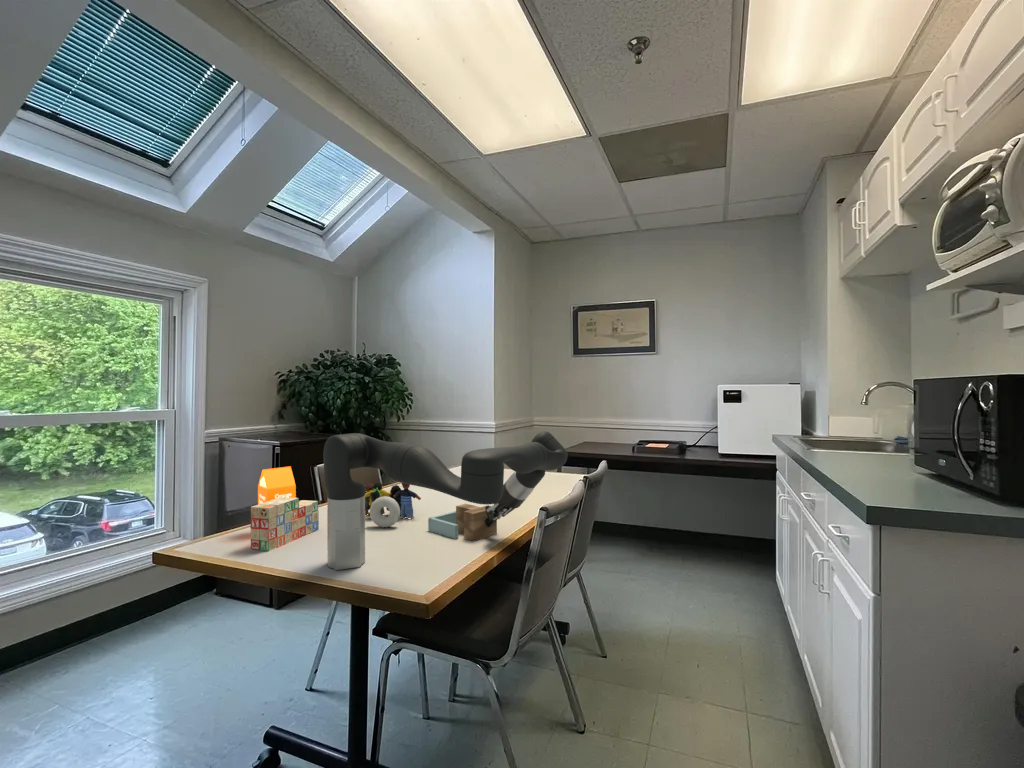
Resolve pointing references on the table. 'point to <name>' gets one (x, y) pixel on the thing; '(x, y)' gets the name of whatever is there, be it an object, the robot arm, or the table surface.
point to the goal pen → (444, 524)
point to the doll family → (396, 493)
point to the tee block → (473, 522)
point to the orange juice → (276, 484)
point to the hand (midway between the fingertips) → (487, 524)
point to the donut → (376, 513)
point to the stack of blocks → (282, 522)
